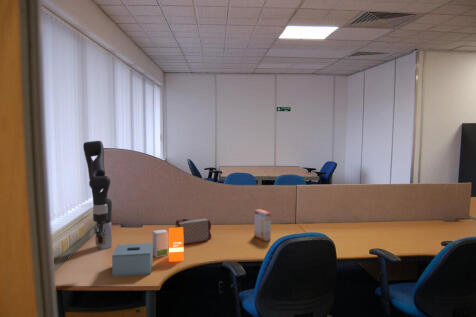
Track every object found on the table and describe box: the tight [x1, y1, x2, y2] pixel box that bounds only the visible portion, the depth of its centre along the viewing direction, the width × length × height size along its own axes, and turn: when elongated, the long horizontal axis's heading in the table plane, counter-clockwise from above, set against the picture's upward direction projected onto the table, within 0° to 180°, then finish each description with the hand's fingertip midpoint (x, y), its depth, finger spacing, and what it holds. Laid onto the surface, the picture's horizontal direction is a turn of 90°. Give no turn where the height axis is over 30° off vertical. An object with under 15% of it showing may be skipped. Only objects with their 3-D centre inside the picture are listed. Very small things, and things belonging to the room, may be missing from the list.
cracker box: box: [253, 208, 272, 242], centre depth 235 cm, size 14×6×21 cm, turn 29°
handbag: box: [175, 217, 212, 246], centre depth 227 cm, size 28×11×17 cm, turn 120°
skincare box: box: [152, 229, 169, 258], centre depth 200 cm, size 8×7×16 cm
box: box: [111, 242, 154, 277], centre depth 179 cm, size 16×20×12 cm
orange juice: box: [168, 227, 185, 263], centre depth 194 cm, size 8×9×20 cm
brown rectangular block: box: [94, 234, 106, 246], centre depth 174 cm, size 3×5×5 cm, turn 100°
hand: (101, 242), depth 174 cm, fingers closed on brown rectangular block, 2 cm apart
